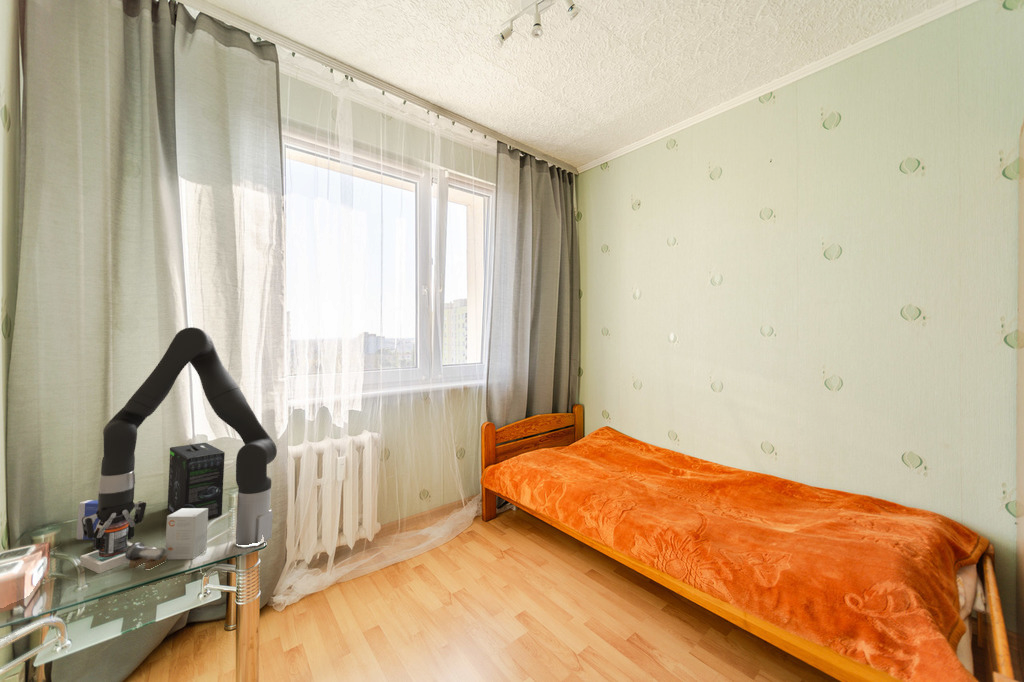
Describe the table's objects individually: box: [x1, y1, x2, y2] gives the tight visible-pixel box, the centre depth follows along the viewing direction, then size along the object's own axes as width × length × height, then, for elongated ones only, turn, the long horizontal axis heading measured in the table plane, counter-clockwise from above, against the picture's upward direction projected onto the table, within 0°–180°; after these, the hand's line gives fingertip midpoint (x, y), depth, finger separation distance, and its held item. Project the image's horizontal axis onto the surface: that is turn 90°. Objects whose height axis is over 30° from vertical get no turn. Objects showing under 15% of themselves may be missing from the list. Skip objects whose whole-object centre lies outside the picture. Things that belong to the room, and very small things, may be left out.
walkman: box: [76, 499, 100, 540], centre depth 128 cm, size 8×3×12 cm, turn 94°
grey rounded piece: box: [125, 541, 167, 570], centre depth 115 cm, size 9×5×6 cm, turn 83°
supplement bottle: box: [99, 514, 129, 557], centre depth 116 cm, size 6×6×11 cm
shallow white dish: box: [79, 541, 133, 574], centre depth 116 cm, size 10×10×2 cm
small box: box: [164, 508, 209, 560], centre depth 121 cm, size 8×6×13 cm
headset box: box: [167, 442, 226, 520], centre depth 150 cm, size 22×12×26 cm, turn 53°
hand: (113, 544), depth 116 cm, fingers closed on supplement bottle, 6 cm apart
